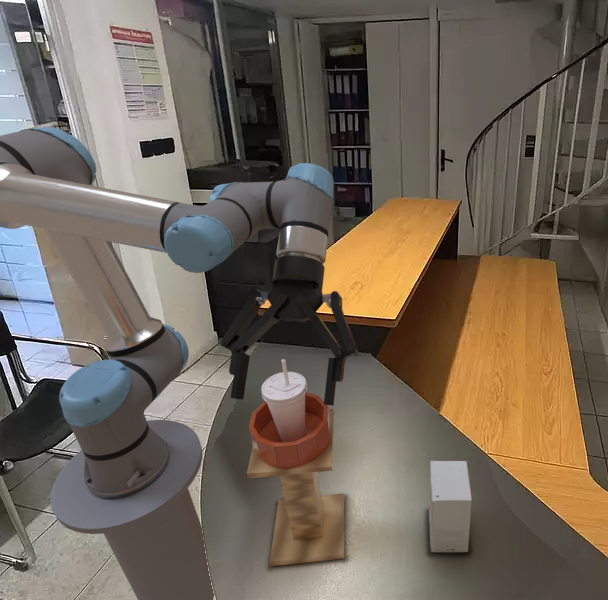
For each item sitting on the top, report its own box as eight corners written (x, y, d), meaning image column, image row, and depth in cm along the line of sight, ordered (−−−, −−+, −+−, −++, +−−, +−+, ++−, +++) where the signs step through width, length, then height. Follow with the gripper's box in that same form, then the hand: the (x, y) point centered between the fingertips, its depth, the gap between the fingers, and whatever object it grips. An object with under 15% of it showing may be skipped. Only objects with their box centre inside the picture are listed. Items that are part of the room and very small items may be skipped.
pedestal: (270, 566, 79) (246, 473, 68) (279, 503, 90) (259, 414, 79) (344, 558, 80) (331, 466, 69) (344, 497, 90) (333, 408, 80)
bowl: (248, 471, 69) (243, 449, 66) (261, 415, 78) (256, 394, 76) (329, 464, 69) (326, 441, 67) (331, 409, 79) (329, 388, 77)
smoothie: (310, 450, 71) (298, 374, 64) (266, 451, 71) (250, 375, 64) (316, 419, 76) (306, 346, 69) (276, 420, 76) (261, 347, 69)
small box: (468, 553, 80) (472, 501, 74) (430, 553, 81) (431, 501, 74) (463, 510, 87) (467, 459, 81) (428, 510, 88) (429, 460, 81)
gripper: (383, 272, 77) (372, 409, 71) (234, 267, 79) (212, 398, 74) (376, 255, 69) (363, 406, 64) (212, 250, 72) (186, 394, 67)
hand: (282, 402), depth 69 cm, fingers open, 13 cm apart
